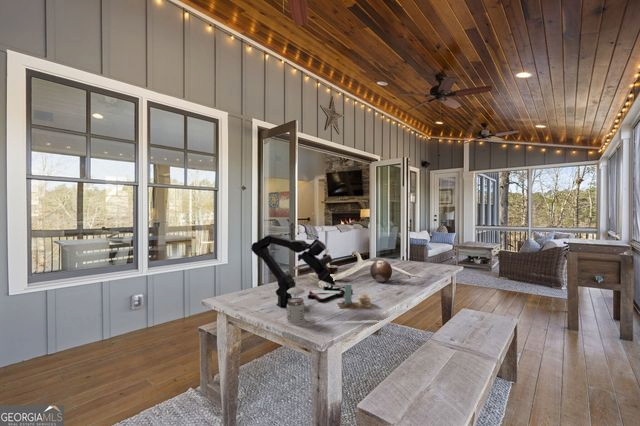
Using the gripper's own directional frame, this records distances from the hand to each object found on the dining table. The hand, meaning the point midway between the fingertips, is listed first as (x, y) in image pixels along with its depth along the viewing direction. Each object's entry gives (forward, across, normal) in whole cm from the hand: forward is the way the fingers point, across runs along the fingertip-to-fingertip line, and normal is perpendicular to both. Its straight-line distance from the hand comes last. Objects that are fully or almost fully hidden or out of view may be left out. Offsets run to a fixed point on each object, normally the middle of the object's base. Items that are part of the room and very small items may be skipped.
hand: (333, 282), depth 156 cm
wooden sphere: (+38, +54, -19) cm, 68 cm away
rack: (+17, 0, +2) cm, 17 cm away
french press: (-4, -16, +23) cm, 28 cm away
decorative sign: (+10, +21, +10) cm, 25 cm away
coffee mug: (+15, +60, +4) cm, 62 cm away
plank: (+14, 0, +3) cm, 14 cm away
